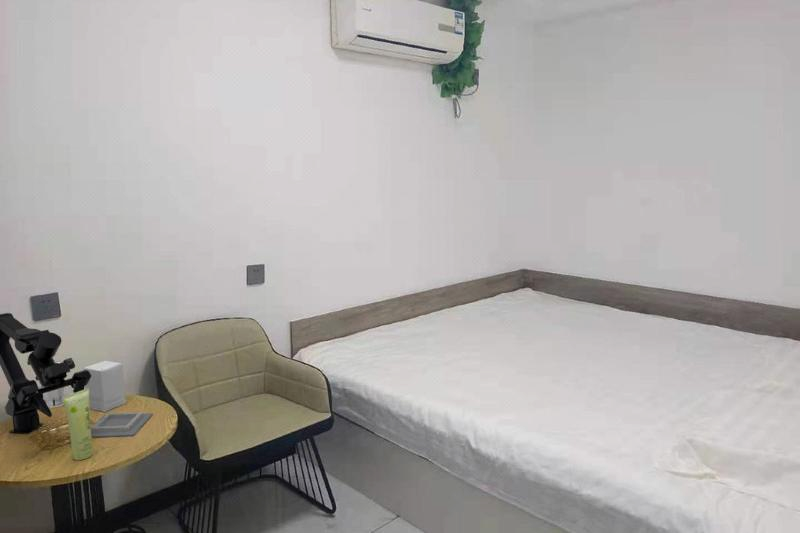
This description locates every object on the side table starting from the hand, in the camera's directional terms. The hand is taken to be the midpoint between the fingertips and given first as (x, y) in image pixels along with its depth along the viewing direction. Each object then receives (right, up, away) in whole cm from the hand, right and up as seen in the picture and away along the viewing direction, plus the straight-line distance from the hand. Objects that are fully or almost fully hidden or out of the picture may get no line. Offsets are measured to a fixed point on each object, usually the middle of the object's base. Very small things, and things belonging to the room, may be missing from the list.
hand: (67, 410), depth 158 cm
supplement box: (-7, -8, +35) cm, 37 cm away
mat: (+5, -10, +19) cm, 22 cm away
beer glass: (-26, -8, +36) cm, 45 cm away
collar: (+5, -10, +19) cm, 22 cm away
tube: (+5, -13, -1) cm, 14 cm away
